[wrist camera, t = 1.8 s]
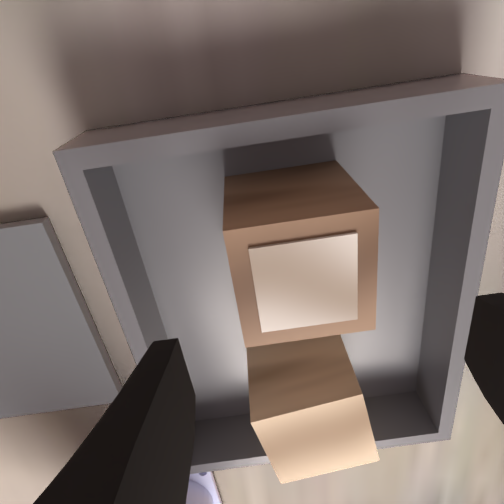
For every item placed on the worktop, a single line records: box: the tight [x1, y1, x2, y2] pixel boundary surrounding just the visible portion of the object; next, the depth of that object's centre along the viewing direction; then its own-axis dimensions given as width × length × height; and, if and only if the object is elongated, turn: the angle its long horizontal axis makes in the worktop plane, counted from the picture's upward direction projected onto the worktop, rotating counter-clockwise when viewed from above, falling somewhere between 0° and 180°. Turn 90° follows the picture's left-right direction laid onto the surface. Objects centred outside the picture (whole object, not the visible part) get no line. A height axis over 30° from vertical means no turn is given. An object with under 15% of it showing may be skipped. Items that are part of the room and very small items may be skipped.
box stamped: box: [223, 160, 379, 348], centre depth 14 cm, size 4×4×5 cm
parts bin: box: [53, 73, 504, 474], centre depth 17 cm, size 17×14×3 cm
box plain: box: [246, 335, 380, 484], centre depth 18 cm, size 4×4×5 cm
